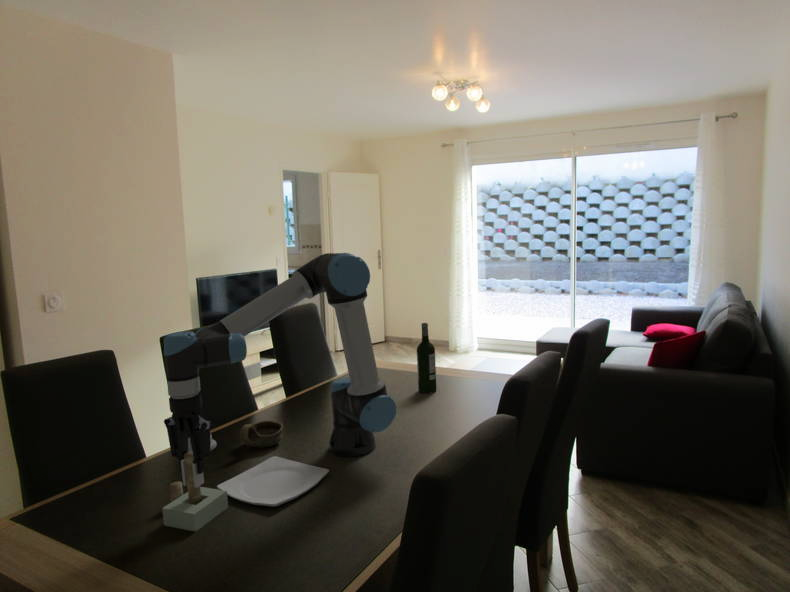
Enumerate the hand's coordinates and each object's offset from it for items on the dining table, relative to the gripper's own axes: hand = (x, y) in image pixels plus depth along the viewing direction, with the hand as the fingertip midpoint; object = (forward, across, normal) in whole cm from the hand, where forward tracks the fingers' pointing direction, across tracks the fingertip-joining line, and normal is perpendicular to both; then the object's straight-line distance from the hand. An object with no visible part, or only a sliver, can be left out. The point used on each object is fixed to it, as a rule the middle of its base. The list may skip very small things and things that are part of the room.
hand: (193, 483), depth 135 cm
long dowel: (+5, 0, 0) cm, 5 cm away
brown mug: (+9, +11, -43) cm, 45 cm away
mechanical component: (+9, +31, -37) cm, 49 cm away
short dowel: (+9, +9, -3) cm, 13 cm away
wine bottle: (+9, -25, -115) cm, 118 cm away
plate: (+9, -10, -20) cm, 24 cm away
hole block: (+9, 0, 0) cm, 9 cm away
